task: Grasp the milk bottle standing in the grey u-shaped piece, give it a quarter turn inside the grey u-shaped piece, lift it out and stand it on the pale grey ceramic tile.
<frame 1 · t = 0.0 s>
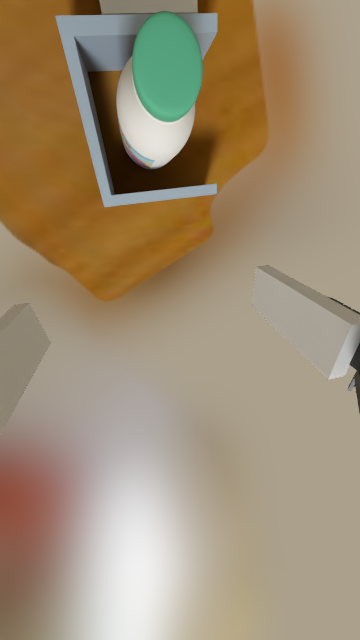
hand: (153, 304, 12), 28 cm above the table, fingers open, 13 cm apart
milk bottle: (148, 137, 30), on the table
grey u-shaped piece: (149, 136, 30), on the table
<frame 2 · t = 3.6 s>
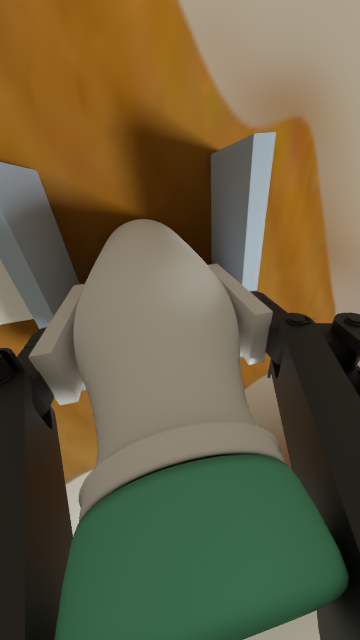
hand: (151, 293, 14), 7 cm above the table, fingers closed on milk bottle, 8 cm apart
milk bottle: (145, 262, 20), on the table, touching gripper
grey u-shaped piece: (146, 262, 20), on the table
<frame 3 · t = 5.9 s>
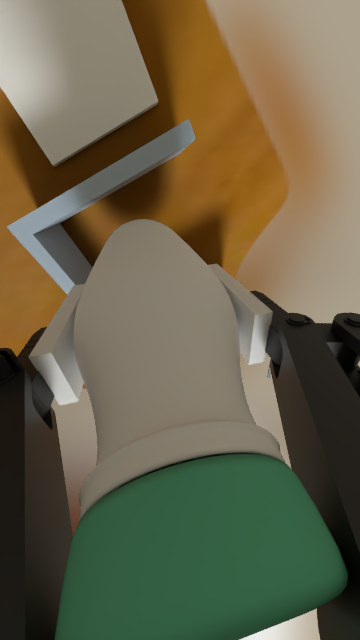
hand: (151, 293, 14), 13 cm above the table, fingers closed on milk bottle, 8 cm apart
milk bottle: (145, 262, 20), point 6 cm above the table, touching gripper
tile: (62, 51, 16), on the table
grey u-shaped piece: (144, 249, 25), on the table
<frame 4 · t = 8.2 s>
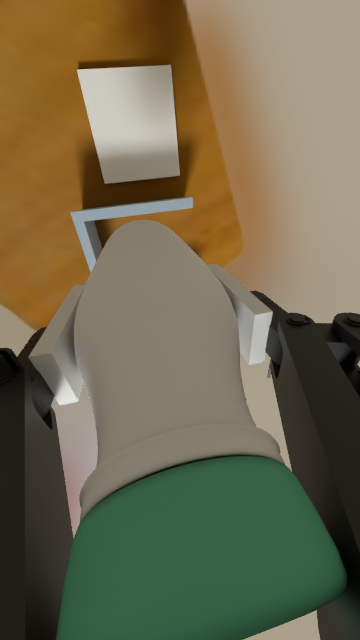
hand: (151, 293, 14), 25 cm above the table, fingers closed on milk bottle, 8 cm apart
milk bottle: (145, 262, 20), point 17 cm above the table, touching gripper
tile: (135, 131, 28), on the table
grey u-shaped piece: (143, 253, 36), on the table
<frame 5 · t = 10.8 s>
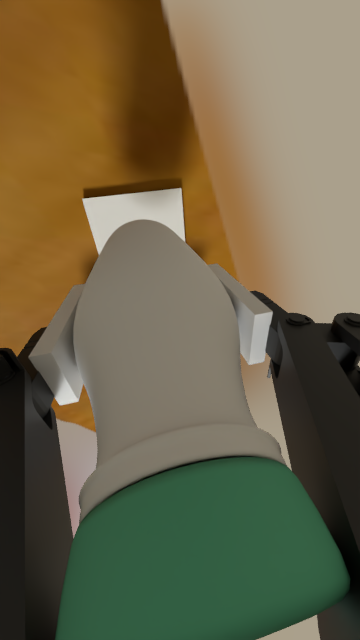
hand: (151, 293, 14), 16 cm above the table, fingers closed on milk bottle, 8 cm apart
milk bottle: (145, 262, 20), point 8 cm above the table, touching gripper
tile: (142, 243, 27), on the table
when the fingers open (9 cm above the table, at t = 12.9 s): milk bottle drops 1 cm, resting on tile.
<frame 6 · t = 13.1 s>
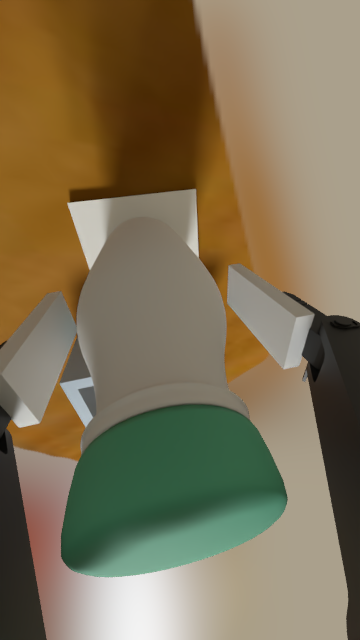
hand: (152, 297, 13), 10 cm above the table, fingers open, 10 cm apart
milk bottle: (145, 258, 21), point 1 cm above the table, touching tile
tile: (144, 257, 21), on the table
grey u-shaped piece: (151, 370, 30), on the table
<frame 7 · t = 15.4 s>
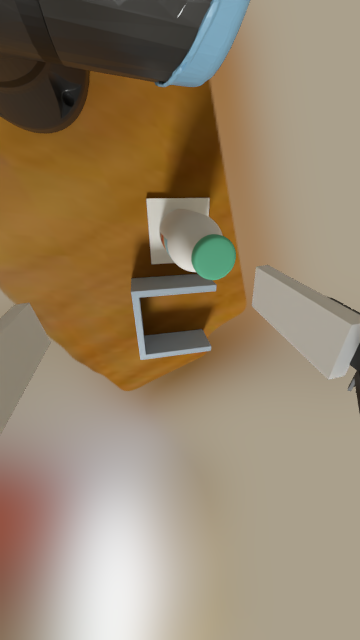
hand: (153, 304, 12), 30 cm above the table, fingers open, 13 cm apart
milk bottle: (179, 232, 38), point 1 cm above the table, touching tile
tile: (178, 232, 39), on the table
grey u-shaped piece: (170, 308, 47), on the table
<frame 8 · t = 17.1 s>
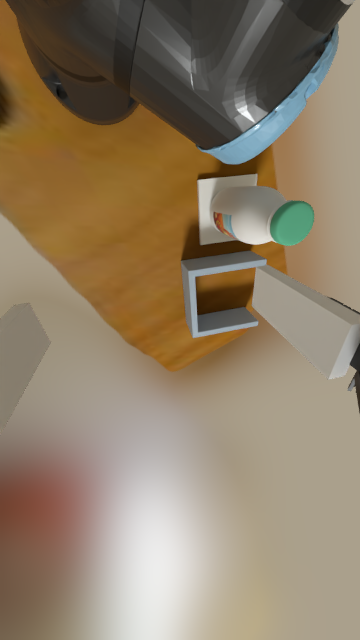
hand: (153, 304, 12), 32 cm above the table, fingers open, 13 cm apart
milk bottle: (227, 210, 40), point 1 cm above the table, touching tile
tile: (225, 211, 40), on the table
grey u-shaped piece: (215, 288, 49), on the table
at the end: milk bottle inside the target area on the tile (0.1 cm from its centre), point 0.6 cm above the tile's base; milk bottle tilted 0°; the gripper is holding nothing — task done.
